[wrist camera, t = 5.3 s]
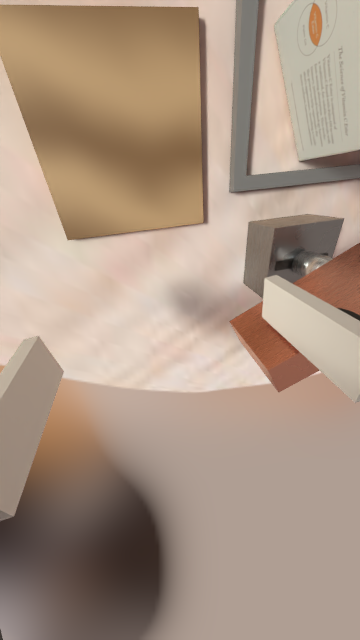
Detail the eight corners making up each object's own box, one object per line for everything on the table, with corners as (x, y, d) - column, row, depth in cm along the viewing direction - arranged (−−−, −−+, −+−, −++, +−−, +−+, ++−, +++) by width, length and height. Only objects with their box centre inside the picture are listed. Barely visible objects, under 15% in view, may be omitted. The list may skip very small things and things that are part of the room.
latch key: (215, 303, 18) (267, 370, 11) (328, 232, 16) (466, 259, 10) (225, 321, 19) (278, 392, 12) (331, 257, 18) (455, 297, 11)
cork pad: (-12, 13, 11) (-19, 4, 10) (195, 15, 12) (198, 7, 11) (69, 238, 16) (67, 240, 16) (201, 221, 18) (203, 222, 17)
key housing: (248, 221, 19) (275, 228, 15) (307, 214, 20) (345, 218, 16) (243, 283, 22) (264, 299, 19) (294, 274, 23) (323, 288, 19)
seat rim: (240, -118, 10) (248, -140, 9) (466, -96, 12) (486, -114, 11) (229, 192, 17) (233, 192, 16) (372, 176, 19) (381, 175, 18)
